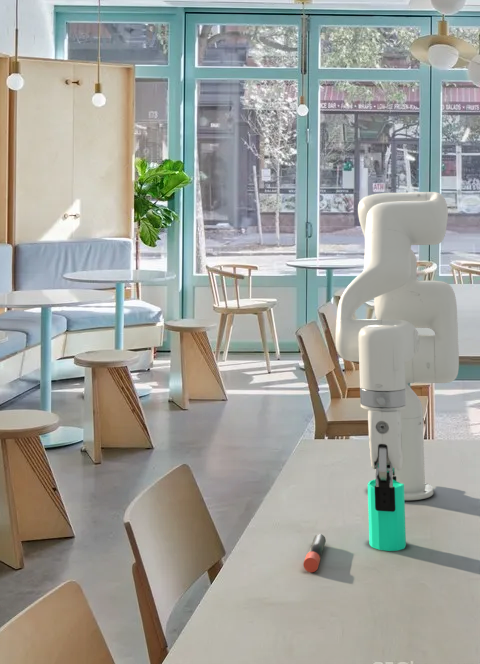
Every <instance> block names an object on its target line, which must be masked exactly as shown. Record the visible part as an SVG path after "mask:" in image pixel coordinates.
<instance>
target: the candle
mask: <svg viewBox="0 0 480 664" xmlns="http://www.w3.org/2000/svg"><path fill="white" fill-rule="evenodd" d="M375 486H376V478H374V479H372V480H369V481H368V482H367V509H368V510H367V511H368V512H367V513H368V514H367V515H368V542H369V546H370V547H371V548H373V549H375V550H379V551H386V552H395V551H401V550H404V549H405V548H406V546H407V538H406V537H407V536H406V504H405V503H406V502H405V501H406V500H405V499H404V484H401V483H399V482H397V481H395V480H393V487H395V511H394V512H391V511H377V510H376V509H375Z"/></svg>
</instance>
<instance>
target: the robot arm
mask: <svg viewBox="0 0 480 664" xmlns="http://www.w3.org/2000/svg"><path fill="white" fill-rule="evenodd" d="M357 216H358V220H359V224H360V228H361V231H362V235H363V236H364V257H363V270H362V272H361V273H360V274H358V275H357V276H356V277H354V279H353V280H351V282H350V283H349V284H348V285H347V286H346V288H345V289H344V290H343V292H342V295H341V296H340V299H339V301H338V305H337V309H336V321H335V335H334V336H335V337H334V340H335V348H336V352H337V354H338V355H339V357H340V358H342V359H343V360H344V361H348V362H356V363H357V362H358V365H359V366H358V367H359V370H358V371H359V396H360V397H359V398H360V399H359V401H360V408H362V409H363V410H367V425H368V426H367V427H368V428H367V429H368V443H369V444H368V446H369V456H370V466H371V468H372V469H374V470H375V479H376V486H375V509H376V510H377V511H391V512H394V511H395V487H393V480H395V481H397V482H399V483H401V484H404V499H405V501H419V500H424V499H428V498H430V497H432V496H433V495H434V487H433V486H432V484H429V483H428V482H426V479H425V478H426V473H425V470H426V469H425V443H424V410H423V404H422V401H421V399H420V398H419V396H418V395H417V393H416V392H415V391H414V390H413V388H411V386H410V385H409V384H414V383H415V384H416V383H417V384H418V383H419V384H448V383H449V384H450V383H452V382H454V381H455V380H456V379H457V377H458V374H459V368H460V354H459V353H460V352H459V327H458V324H459V323H458V307H457V306H458V305H457V298H456V293H455V291H454V289H453V287H452V285H451V284H450V283H448V282H446V281H442V280H419V279H418V275H417V274H418V268H417V267H418V265H417V263H418V261H417V256H416V254H415V253H414V251H413V250H412V246H434V245H439V244H441V243H443V241H444V239H445V237H446V232H447V225H448V219H449V210H448V204H447V201H446V198H445V196H444V195H443V194H442V193H439V192H437V191H418V192H417V191H416V192H382V193H381V192H380V193H374V194H373V193H372V194H369V195H366V196H364V197H362V199H360V201H358V205H357ZM372 300H373V306H374V315H375V318H368V319H367V318H354V315H355V313H356V312H357V311H358V309H359V308H360V307H361V306H363V305H364V304H366V303H367V302H369V301H372ZM417 329H431V330H432V331H433V332H434V334H420V333H419V331H418V330H417Z"/></svg>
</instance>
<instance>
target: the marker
mask: <svg viewBox="0 0 480 664" xmlns="http://www.w3.org/2000/svg"><path fill="white" fill-rule="evenodd" d="M326 542H327V539H326V537H325V535H323V534H321V533H317V534H315V535H314V536H313V540H312V542H311V544H310V548H309V551H308V552H307V553H306V555H305V558H304V560H303V563H302V564H303V568H304V570H305V571H307V572H308V573H316V571H317V570H318V568H319V567H320V566H319V565H320V562H321V558H322V556H323V555H322V554H323V552H324V549H325V546H326Z"/></svg>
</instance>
